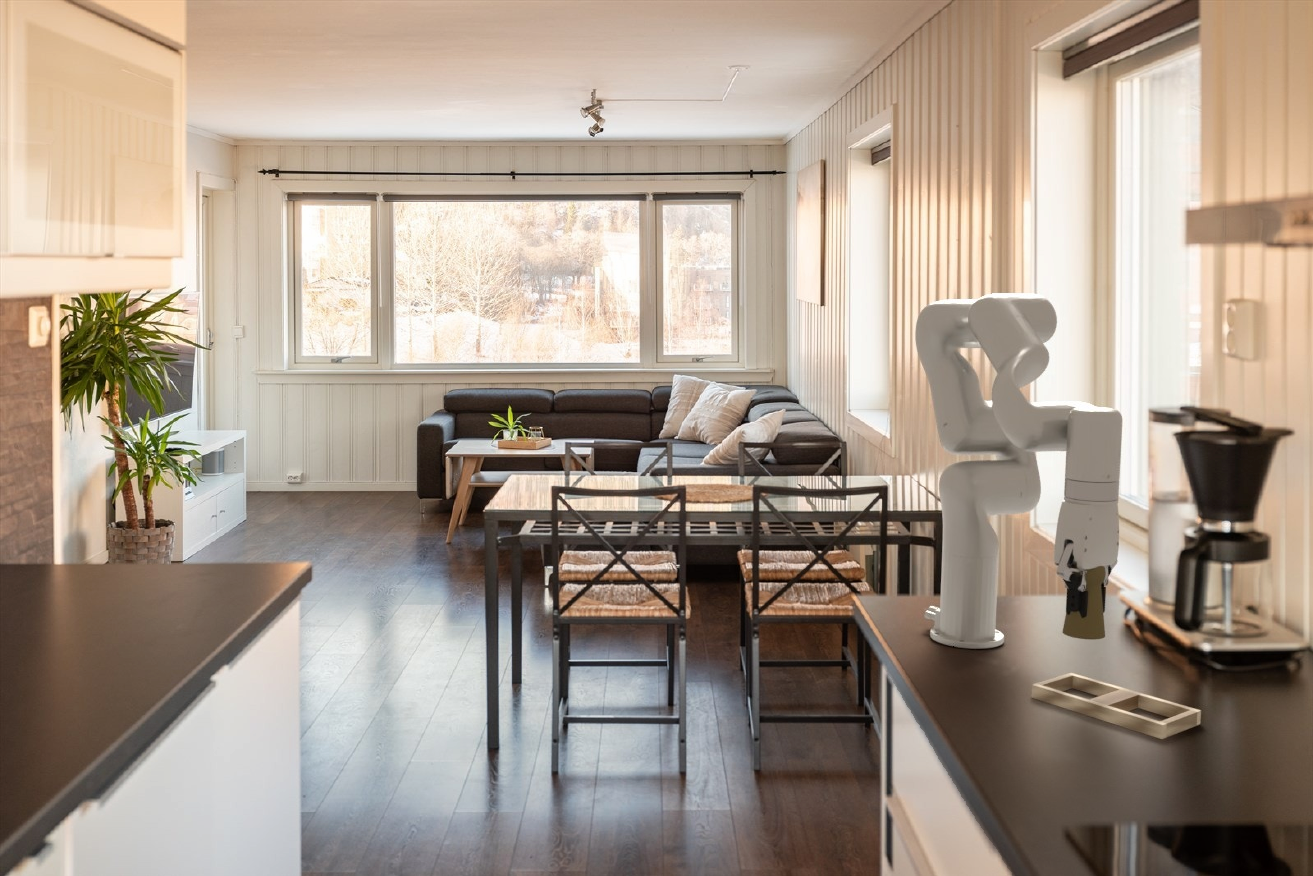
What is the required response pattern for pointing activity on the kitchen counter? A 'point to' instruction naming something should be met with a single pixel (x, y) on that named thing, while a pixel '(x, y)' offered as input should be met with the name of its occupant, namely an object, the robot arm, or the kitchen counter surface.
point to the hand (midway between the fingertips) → (1085, 612)
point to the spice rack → (1117, 705)
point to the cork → (1088, 609)
